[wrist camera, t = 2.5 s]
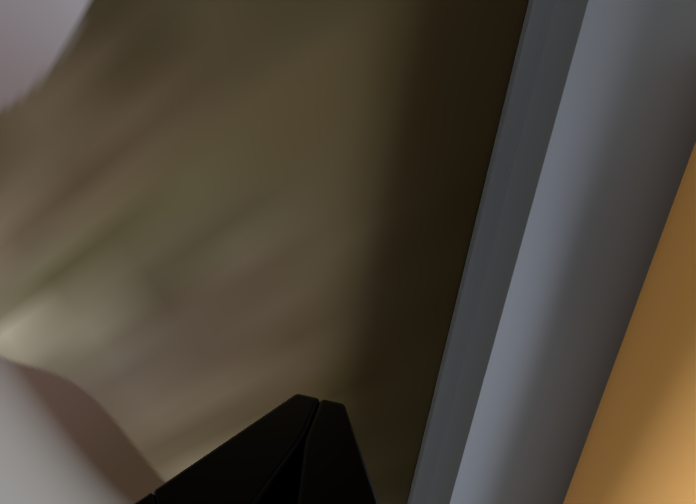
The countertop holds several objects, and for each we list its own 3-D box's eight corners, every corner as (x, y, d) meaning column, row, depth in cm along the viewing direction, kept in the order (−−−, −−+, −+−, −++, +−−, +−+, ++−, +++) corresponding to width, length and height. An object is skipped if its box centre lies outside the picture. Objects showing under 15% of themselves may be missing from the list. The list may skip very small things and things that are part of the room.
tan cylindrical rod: (703, 46, 10) (789, 38, 8) (845, 68, 10) (979, 66, 7) (512, 590, 15) (529, 690, 12) (605, 613, 14) (640, 719, 12)
